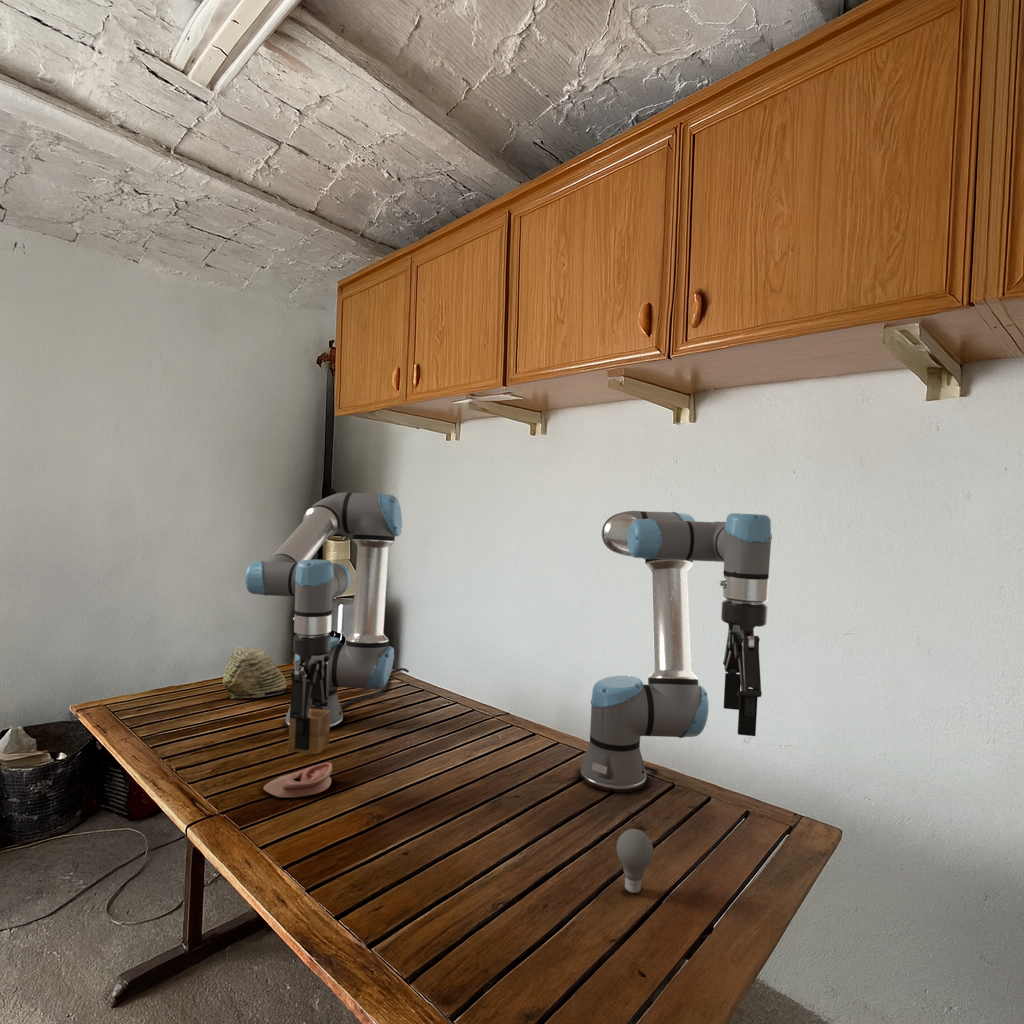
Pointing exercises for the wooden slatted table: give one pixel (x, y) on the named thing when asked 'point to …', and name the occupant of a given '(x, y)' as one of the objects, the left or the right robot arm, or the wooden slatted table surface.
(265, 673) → the fossil
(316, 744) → the block
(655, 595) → the right robot arm
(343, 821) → the wooden slatted table surface
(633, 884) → the light bulb
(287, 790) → the anatomical model
